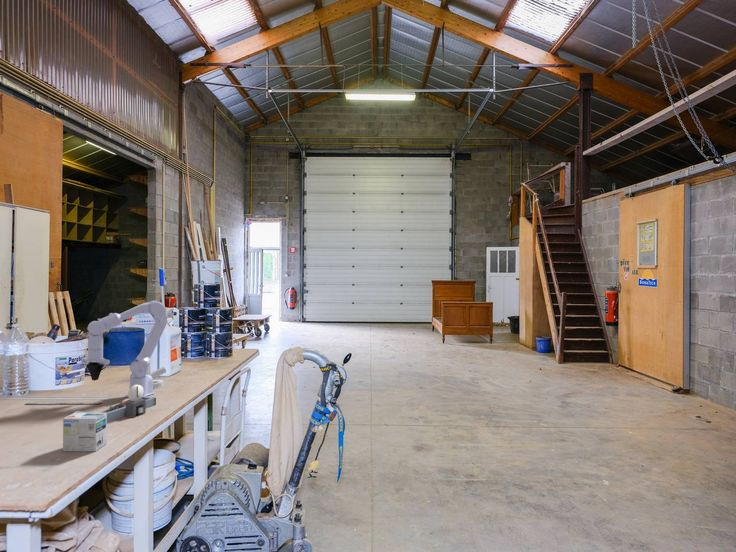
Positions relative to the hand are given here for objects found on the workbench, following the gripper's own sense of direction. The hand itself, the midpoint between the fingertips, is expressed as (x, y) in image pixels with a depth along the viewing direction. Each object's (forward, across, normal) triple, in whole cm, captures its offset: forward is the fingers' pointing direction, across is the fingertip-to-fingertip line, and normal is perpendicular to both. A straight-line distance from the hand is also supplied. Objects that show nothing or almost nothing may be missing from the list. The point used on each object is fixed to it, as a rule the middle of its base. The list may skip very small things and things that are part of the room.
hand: (95, 379), depth 200 cm
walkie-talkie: (+10, +21, -4) cm, 24 cm away
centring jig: (+9, +23, -7) cm, 26 cm away
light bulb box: (+10, +43, -39) cm, 59 cm away
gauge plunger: (+8, +29, -7) cm, 31 cm away
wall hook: (+10, +4, +30) cm, 32 cm away
